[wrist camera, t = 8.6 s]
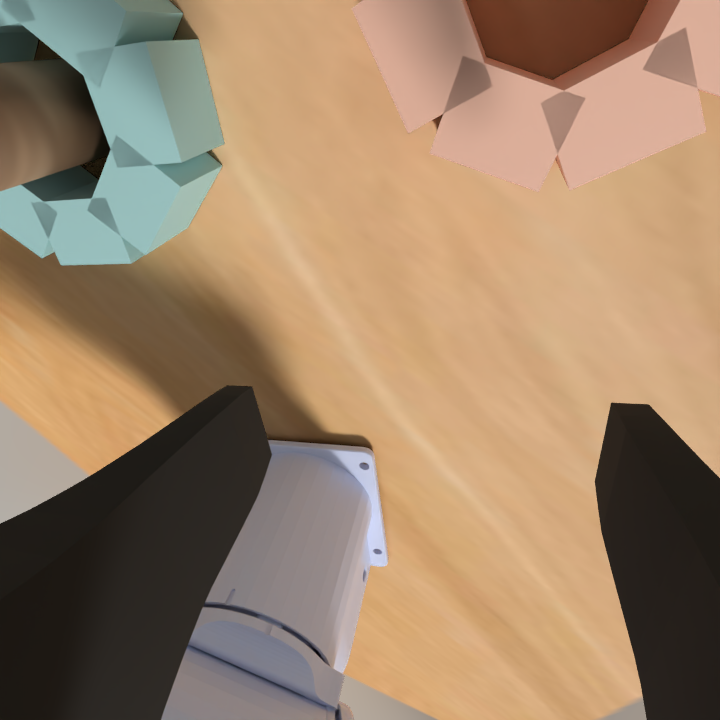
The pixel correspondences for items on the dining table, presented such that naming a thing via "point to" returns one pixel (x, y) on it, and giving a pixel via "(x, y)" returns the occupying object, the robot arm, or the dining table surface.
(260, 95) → the dining table surface
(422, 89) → the coral bead
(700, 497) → the robot arm
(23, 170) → the dowel
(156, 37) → the teal bead
